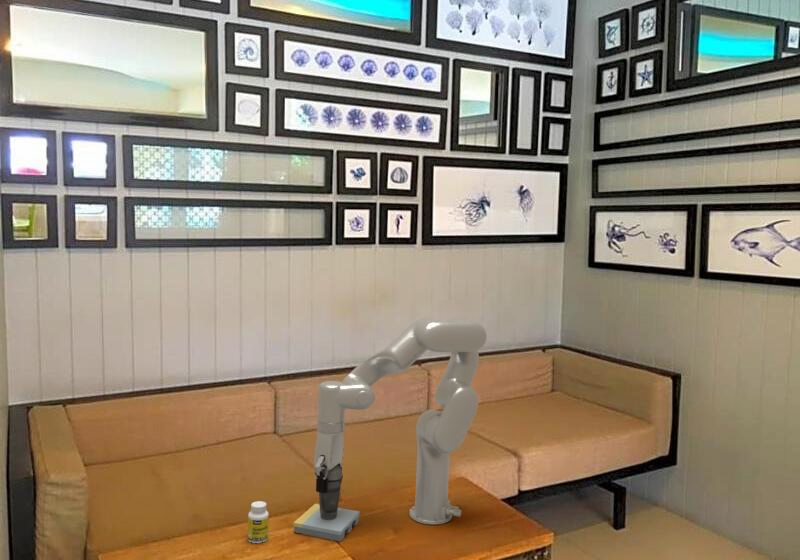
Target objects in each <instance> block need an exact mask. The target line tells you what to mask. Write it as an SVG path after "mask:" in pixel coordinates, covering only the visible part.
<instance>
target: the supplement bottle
mask: <svg viewBox="0 0 800 560" xmlns="http://www.w3.org/2000/svg"><path fill="white" fill-rule="evenodd" d="M269 515H270V514H269V512H268V511H267V503H266V502H265V501H261V500H260V501H259V500H257V501H253V502H252V503H251V505H250V511H249V512H248V515H247V516H248V517H247V537H246V538H247V541H248V542H249V543H251V542H252V543H251V544H255V543H257V544H262V542H263V543H265V542H266V541H267V540H268V537H269V520H270V519H269V518H270V517H269Z"/></svg>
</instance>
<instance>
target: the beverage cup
mask: <svg viewBox="0 0 800 560" xmlns="http://www.w3.org/2000/svg"><path fill="white" fill-rule="evenodd" d="M322 467H327V466H322ZM340 467H341V466H340ZM340 467H339V465H338V464H337V465H336V466H335V467H334V468H332V469H331V470H329V471H328V475H327V479H328V490H327V493H320V492H318V500H319V503H318V504H320V517H321V518H322V519H324V520H333V519H335V518H336V517H337V511H338V508H339V503H340V502H339V500H340V494H341V485H342V482H343V478H344V476H343V469H342V470H341V468H340ZM321 471H322V472H323V473H325V471H324V470H321Z"/></svg>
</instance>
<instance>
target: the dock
mask: <svg viewBox="0 0 800 560" xmlns="http://www.w3.org/2000/svg"><path fill="white" fill-rule="evenodd" d="M360 513H361V512H360V511H359V510H354V509H353V510H352V509H347V508H342V507H338V511H337V517H336V518H335V519H333V520H324V519H322V518H321V517H320V503H314V504H313V505H312V506H311V507H310V508H308V509H307V511H305V512H303V514H302V515H301V516H299V517H298V518H297V519H296V520H295V521H294V522H293V533H295V532H296V533H295V534H300V533H301V535H305V534H306V535H305V536H310V537H316V538H320V539H326V540H331V541H335V542H339V543H341V542H342V541H344V539H345V534H349V533H350V532H351V531H352V530H353V529H352V528H353V526H355V527H356V526H357V525H358V524H359V523H360Z"/></svg>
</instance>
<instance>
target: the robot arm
mask: <svg viewBox="0 0 800 560" xmlns="http://www.w3.org/2000/svg"><path fill="white" fill-rule="evenodd" d="M486 341H487V332H486V329H485V328H484V326H483V325H482V324H480V323H478V322H477V321H473V320H471V319H468V318H465V317H461V316H455V317H452V318H450V319H448V321H447V322H446V321H439V320H436V319H433V318H429V317H419V318H418V319H416V320H415V321H414V322H412V323H411V324H410V325H409V326H408V327H407V328H406V329H405V330H404V331H403V332H401V333H400V334H399V335H398V336H397V337H396V338H395V339H394V340H392V342H391V343H390V344H388V346H387V345H386V347H385V348H384V349H382V350H380V351H379V352H377V353H375V354H373V355H371V356H370V357H368V358H367V359H365V360H363V361H362V362H360V364H358V365H357V366H356V367H354V368H353V370H351V372H350V373H348V375H346V376H345V377H344V378H343V380H342V382H341V381H338V380H328V381H327V380H326V381H323V382H320V384H319V385H318V390H317V391H318V392H317V395H318V397H317V422H316V423H317V425H316V427H317V428H316V432H317V435H316V441H315V449H314V460H313V467H314V471H315V472H314V474H315V479H316V480H315V492H316V493H319V492H320V493H327V490H328V479H327V475H328V471H329V470H331V469H332V468H334V467H335V466H336V465H337V464H338V465H339V467H340V468H341V470H342V471H343V459H344V450H345V449H344V448H345V447H344V433H345V423H346V422H345V421H346V420H345V418H346V417H345V416H346V415H345V413H346V410H347V409H348V410H354V411H355V410H356V411H362V410H363V411H364V410H367V409H369V408H370V407H371V406H373V404H374V402H375V399H376V394H375V391H374V389H373V387H372V386H373V385H374V384H376V383H377V382H378V381H380V379H383V378H384V377H386V376H389V375H390V376H391V375H394V374H399V373H402V372H405V371H406V370H408V369H409V367H411V366H412V365H413V364H414V363H415V362H416V361H417V360H418V359H419V358H420V357H422V355H424V354H425V353H426V352H427V351H431V352H434V353H450V357H449V361H448V363H447V366H446V368H445V371H444V372H443V375H442V377H441V379H440V381H439V383H438V384H437V387H436V390H435V393H434V398H435V399H434V400H435V401H436V403H437V404H438V405H439V406H440V408H443V409H442V410H443V411H440V410H437V409H428V410H425V411H424V412H423V413H421V414H420V415H419V417H418V419H417V422H416V426H415V429H416V430H415V431H416V432H415V433H416V444H417V445H416V446H417V448H416V449H417V458H416V461H417V462H416V476H415V479H416V480H415V495H414V496H415V499H414V501H415V502H414V505H413V506H412V507H410V509H409V514H408V515H409V517H410V518H411V519H412V520H414V521H415V522H416V523H417V522H418V523H421V524H423V525H442V524H446V523H448V522H449V521H451V520H452V517H453V516H455V517H459V518H460V517H461V515H462V510H461V509H460V507H459V506H453V505H451V501H450V499H448V497H449V496H448V495H449V479H450V478H449V475H450V457H451V456H450V454H451V453H453V452H455V451H456V450H458V449H459V448H460V447H461V445H462V444H463V442H464V440H465V438H466V436H467V433H468V431H469V430H470V427H471V425H472V423H473V421H474V418H475V416H476V415H477V411H478V408H479V395H478V393H477V391H476V389H474V387H473V386H471V385H472V383H473V380H474V379H475V378H474V377H475V374H476V372H477V370H478V368H479V367H478V366H479V359H480V354H479V350H480V349H482V348H483V347H484V345H485V344H486ZM322 466H327V467H322ZM321 470H324V471H325V473H323V472H322V471H321Z"/></svg>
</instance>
